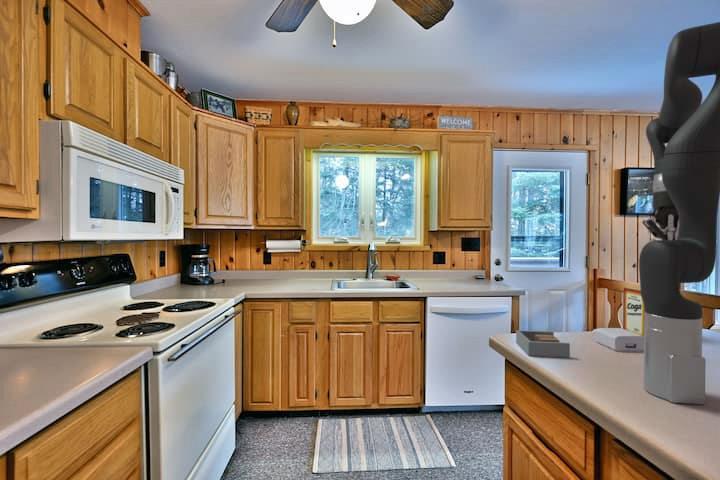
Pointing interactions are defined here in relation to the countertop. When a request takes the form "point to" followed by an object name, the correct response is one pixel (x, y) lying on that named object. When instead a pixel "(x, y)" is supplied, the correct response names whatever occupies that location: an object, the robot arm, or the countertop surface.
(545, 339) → the brown wooden block
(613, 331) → the charger
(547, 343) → the box
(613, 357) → the countertop surface
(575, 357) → the countertop surface
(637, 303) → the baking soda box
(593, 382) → the countertop surface
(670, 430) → the countertop surface
